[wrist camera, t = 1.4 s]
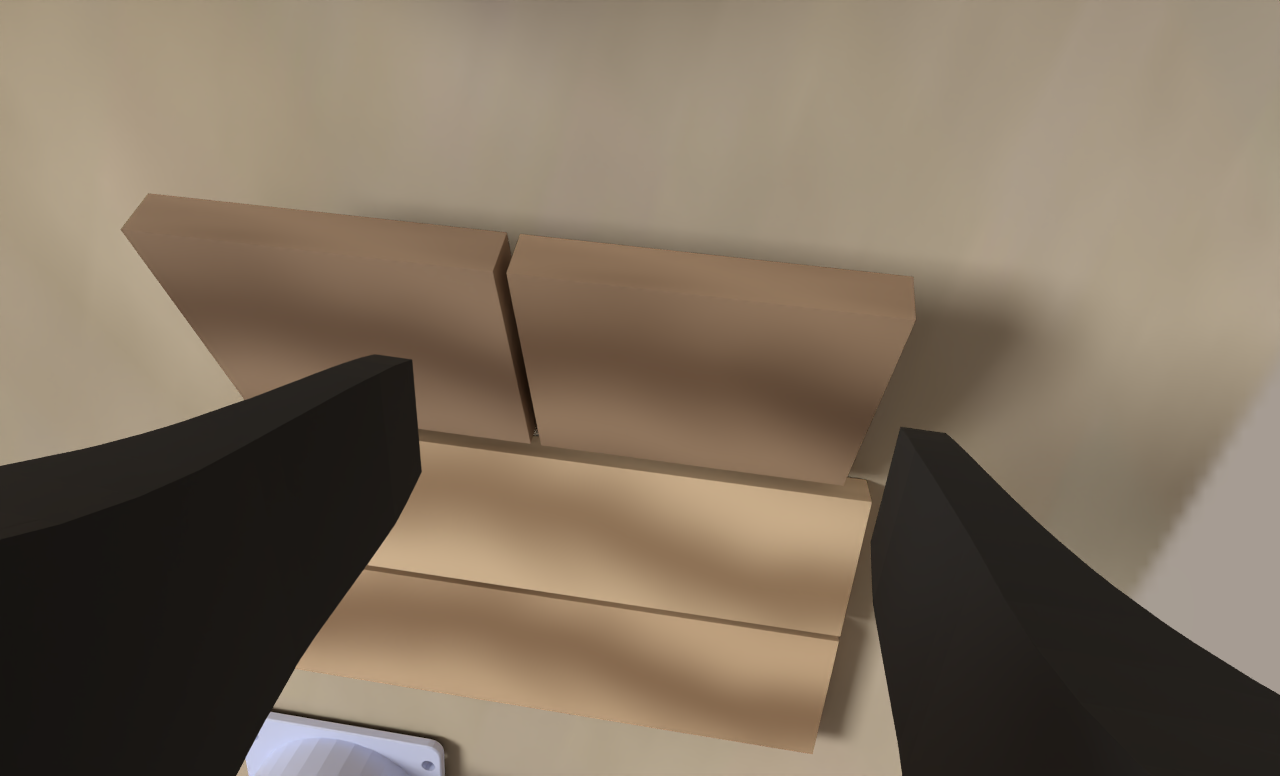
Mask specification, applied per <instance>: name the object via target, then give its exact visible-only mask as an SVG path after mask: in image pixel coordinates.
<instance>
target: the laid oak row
mask: <svg viewBox="0 0 1280 776" xmlns="http://www.w3.org/2000/svg"><path fill="white" fill-rule="evenodd" d="M418 433H419V444H420V456H421V468H422V473H421V475H420V477H419V479H418V481H417V483H416V485H415V487H414V489H413V491H412V493H411V495H410V498H409V500H408V502H407V503H406V505H405V507H404V509H403V511H402V513H401V515H400V517H399V518H398V520H397V522H396V524H395V526H394V527H393V529H392V530H391V531H390V533H389V534H388V536H387V537H386V539H385V540H384V542H383V543H382V544H381V546H380V547H379V549H378V550H377V552H376V553H375V554H374V556H373V557H372V559H371V560H370V562H369V563H368V564H367V566H366V567H365V569H364V570H363V571H362V573H361V574H360V575H359V577H358V578H357V580H356V581H355V582H354V584H353V585H352V587H351V588H350V589H349V591H348V592H347V594H346V595H345V596H344V598H343V599H342V600H341V602H340V603H339V605H338V606H337V607H336V609H335V610H334V612H333V613H332V614H331V616H330V617H329V619H328V620H327V621H326V623H325V624H324V625H323V627H322V628H321V630H320V631H319V632H318V634H317V635H316V637H315V638H314V640H313V641H312V643H311V644H310V646H309V647H308V649H307V650H306V652H305V653H304V655H303V656H302V658H301V659H300V661H299V662H298V664H297V666H296V667H295V669H300V670H306V671H312V672H318V673H324V674H330V675H336V676H342V677H348V678H354V679H360V680H367V681H373V682H379V683H385V684H391V685H397V686H403V687H409V688H415V689H421V690H427V691H433V692H439V693H445V694H451V695H457V696H463V697H469V698H476V699H482V700H488V701H494V702H500V703H506V704H512V705H518V706H524V707H530V708H536V709H542V710H548V711H554V712H560V713H566V714H572V715H579V716H585V717H591V718H597V719H603V720H609V721H615V722H621V723H627V724H633V725H639V726H645V727H651V728H657V729H663V730H669V731H675V732H682V733H688V734H694V735H700V736H706V737H712V738H718V739H724V740H730V741H736V742H742V743H748V744H754V745H760V746H766V747H772V748H778V749H784V750H791V751H797V752H803V753H809V754H813V750H814V745H815V741H816V737H817V733H818V728H819V724H820V720H821V716H822V711H823V707H824V703H825V699H826V694H827V690H828V686H829V682H830V678H831V673H832V669H833V665H834V661H835V656H836V652H837V648H838V644H839V638H838V636H840V635H841V631H842V627H843V622H844V618H845V614H846V610H847V606H848V601H849V597H850V593H851V589H852V584H853V580H854V576H855V572H856V567H857V563H858V559H859V555H860V550H861V546H862V542H863V538H864V533H865V529H866V525H867V521H868V517H869V512H870V508H871V504H872V501H871V497H870V493H869V489H868V484H867V480H863V479H856V478H848V477H847V479H846V481H845V483H844V485H843V486H842V485H834V484H827V483H819V482H812V481H804V480H797V479H789V478H782V477H774V476H767V475H760V474H752V473H745V472H737V471H730V470H722V469H715V468H707V467H700V466H692V465H685V464H677V463H670V462H662V461H655V460H647V459H640V458H633V457H625V456H618V455H610V454H603V453H595V452H588V451H580V450H573V449H565V448H558V447H550V446H543V445H541V442H540V438H539V436H533V438H532V441H531V444H528V443H520V442H513V441H505V440H498V439H491V438H483V437H476V436H468V435H461V434H453V433H446V432H438V431H431V430H423V429H418Z"/></svg>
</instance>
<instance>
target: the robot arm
mask: <svg viewBox="0 0 1280 776" xmlns="http://www.w3.org/2000/svg"><path fill="white" fill-rule="evenodd" d="M421 473H422V468H421V456H420V444H419V433H418V421H417V409H416V397H415V386H414V374H413V362H412V359H406V358H398V357H391V356H384V355H377V354H373V355H369V356H365V357H361V358H358V359H354V360H351V361H348V362H345V363H342V364H339V365H337V366H334V367H331V368H328V369H326V370H323V371H320V372H318V373H315V374H312V375H310V376H307V377H305V378H302V379H299V380H297V381H294V382H291V383H289V384H286V385H284V386H281V387H278V388H276V389H273V390H271V391H268V392H265V393H263V394H260V395H257V396H255V397H252V398H249V399H247V400H244V401H241V402H238V403H235V404H232V405H229V406H226V407H224V408H221V409H218V410H215V411H212V412H209V413H206V414H203V415H200V416H198V417H195V418H192V419H189V420H186V421H183V422H180V423H177V424H174V425H170V426H167V427H164V428H160V429H157V430H154V431H150V432H147V433H143V434H140V435H136V436H132V437H128V438H125V439H121V440H117V441H113V442H110V443H106V444H102V445H98V446H94V447H90V448H85V449H81V450H76V451H71V452H67V453H62V454H57V455H52V456H47V457H42V458H37V459H32V460H27V461H23V462H18V463H13V464H8V465H3V466H0V776H236V775H237V773H238V771H239V769H240V767H241V766H242V764H243V762H244V760H245V758H246V763H247V768H248V774H249V776H445V762H444V749H443V747H442V745H441V744H440V743H439V742H437V741H436V740H432V739H427V738H422V737H416V736H410V735H404V734H398V733H392V732H386V731H381V730H375V729H369V728H363V727H357V726H351V725H346V724H340V723H334V722H328V721H322V720H316V719H310V718H305V717H299V716H293V715H287V714H281V713H275V712H271V710H272V708H273V706H274V704H275V703H276V701H277V699H278V697H279V696H280V694H281V692H282V690H283V689H284V687H285V685H286V683H287V682H288V680H289V678H290V676H291V674H292V673H293V671H294V669H295V667H296V666H297V664H298V662H299V661H300V659H301V658H302V656H303V655H304V653H305V652H306V650H307V649H308V647H309V646H310V644H311V643H312V641H313V640H314V638H315V637H316V635H317V634H318V632H319V631H320V630H321V628H322V627H323V625H324V624H325V623H326V621H327V620H328V619H329V617H330V616H331V614H332V613H333V612H334V610H335V609H336V607H337V606H338V605H339V603H340V602H341V600H342V599H343V598H344V596H345V595H346V594H347V592H348V591H349V589H350V588H351V587H352V585H353V584H354V582H355V581H356V580H357V578H358V577H359V575H360V574H361V573H362V571H363V570H364V569H365V567H366V566H367V564H368V563H369V562H370V560H371V559H372V557H373V556H374V554H375V553H376V552H377V550H378V549H379V547H380V546H381V544H382V543H383V542H384V540H385V539H386V537H387V536H388V534H389V533H390V531H391V530H392V529H393V527H394V526H395V524H396V522H397V520H398V518H399V517H400V515H401V513H402V511H403V509H404V507H405V505H406V503H407V502H408V500H409V498H410V495H411V493H412V491H413V489H414V487H415V485H416V483H417V481H418V479H419V477H420V475H421ZM871 569H872V593H873V606H874V612H875V618H876V624H877V630H878V636H879V641H880V647H881V653H882V658H883V664H884V669H885V675H886V680H887V686H888V691H889V697H890V702H891V708H892V714H893V719H894V725H895V730H896V736H897V741H898V747H899V754H900V762H901V769H902V776H1280V695H1279V694H1277V693H1276V692H1274V691H1272V690H1270V689H1269V688H1267V687H1265V686H1263V685H1261V684H1260V683H1258V682H1257V681H1255V680H1253V679H1251V678H1250V677H1248V676H1247V675H1245V674H1243V673H1242V672H1240V671H1238V670H1237V669H1235V668H1234V667H1232V666H1231V665H1229V664H1227V663H1226V662H1224V661H1223V660H1221V659H1219V658H1218V657H1216V656H1215V655H1213V654H1211V653H1210V652H1208V651H1207V650H1205V649H1203V648H1202V647H1200V646H1198V645H1197V644H1195V643H1193V642H1192V641H1191V640H1189V639H1188V638H1186V637H1185V636H1183V635H1182V634H1180V633H1179V632H1177V631H1176V630H1174V629H1172V628H1171V627H1170V626H1168V625H1167V624H1165V623H1164V622H1162V621H1161V620H1160V619H1158V618H1157V617H1155V616H1154V615H1153V614H1151V613H1150V612H1149V611H1147V610H1146V609H1144V608H1143V607H1142V606H1140V605H1139V604H1138V603H1136V602H1135V601H1133V600H1132V599H1131V598H1129V597H1128V596H1127V595H1125V594H1124V593H1122V592H1121V591H1120V590H1118V589H1117V588H1116V587H1114V586H1113V585H1112V584H1110V583H1109V582H1108V581H1107V580H1105V579H1104V578H1103V577H1102V576H1100V575H1099V574H1098V573H1096V572H1095V571H1094V570H1093V569H1091V568H1090V567H1089V566H1088V565H1087V564H1085V563H1084V562H1083V561H1082V560H1081V559H1080V558H1078V557H1077V556H1076V555H1075V554H1074V553H1073V552H1071V551H1070V550H1069V549H1068V548H1067V547H1065V546H1064V545H1063V544H1062V543H1061V542H1060V541H1058V540H1057V539H1056V538H1055V537H1054V536H1053V535H1052V534H1050V533H1049V532H1048V531H1047V530H1046V529H1045V528H1044V527H1043V526H1042V525H1041V524H1039V523H1038V522H1037V521H1036V520H1035V519H1034V518H1033V517H1032V516H1031V515H1030V514H1029V513H1028V512H1027V511H1025V510H1024V509H1023V508H1022V507H1021V506H1020V505H1019V504H1018V503H1017V502H1016V501H1015V500H1014V499H1013V498H1012V497H1011V496H1010V495H1009V494H1008V493H1007V492H1006V491H1005V490H1004V489H1003V488H1002V487H1001V486H1000V485H999V484H998V483H997V482H996V481H995V480H994V479H993V478H992V477H991V476H990V475H989V474H988V473H987V472H986V471H985V470H984V469H983V468H982V467H981V466H980V465H979V464H978V463H977V462H976V461H975V460H974V459H973V458H972V457H971V456H970V455H969V454H968V453H967V452H966V451H965V450H964V449H963V448H962V447H961V446H959V445H958V444H957V443H956V442H955V441H954V440H953V439H952V438H951V437H950V436H948V435H947V434H946V433H940V432H933V431H926V430H919V429H912V428H904V427H900V431H899V435H898V439H897V443H896V447H895V451H894V454H893V458H892V462H891V466H890V470H889V474H888V478H887V482H886V485H885V489H884V493H883V497H882V501H881V505H880V509H879V512H878V516H877V520H876V524H875V528H874V532H873V536H872V539H871Z"/></svg>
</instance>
